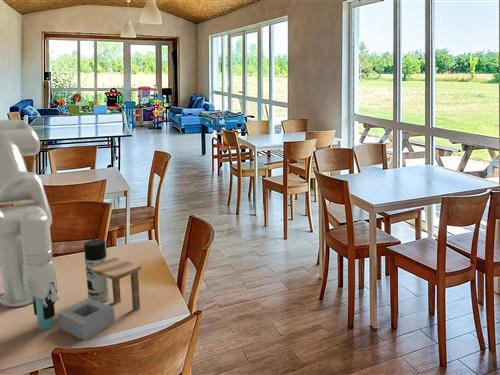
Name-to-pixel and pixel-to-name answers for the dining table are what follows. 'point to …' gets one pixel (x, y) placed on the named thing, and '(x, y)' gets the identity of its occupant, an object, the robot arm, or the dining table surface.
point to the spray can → (95, 282)
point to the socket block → (86, 318)
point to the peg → (42, 315)
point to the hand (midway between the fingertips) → (44, 314)
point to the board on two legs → (116, 271)
